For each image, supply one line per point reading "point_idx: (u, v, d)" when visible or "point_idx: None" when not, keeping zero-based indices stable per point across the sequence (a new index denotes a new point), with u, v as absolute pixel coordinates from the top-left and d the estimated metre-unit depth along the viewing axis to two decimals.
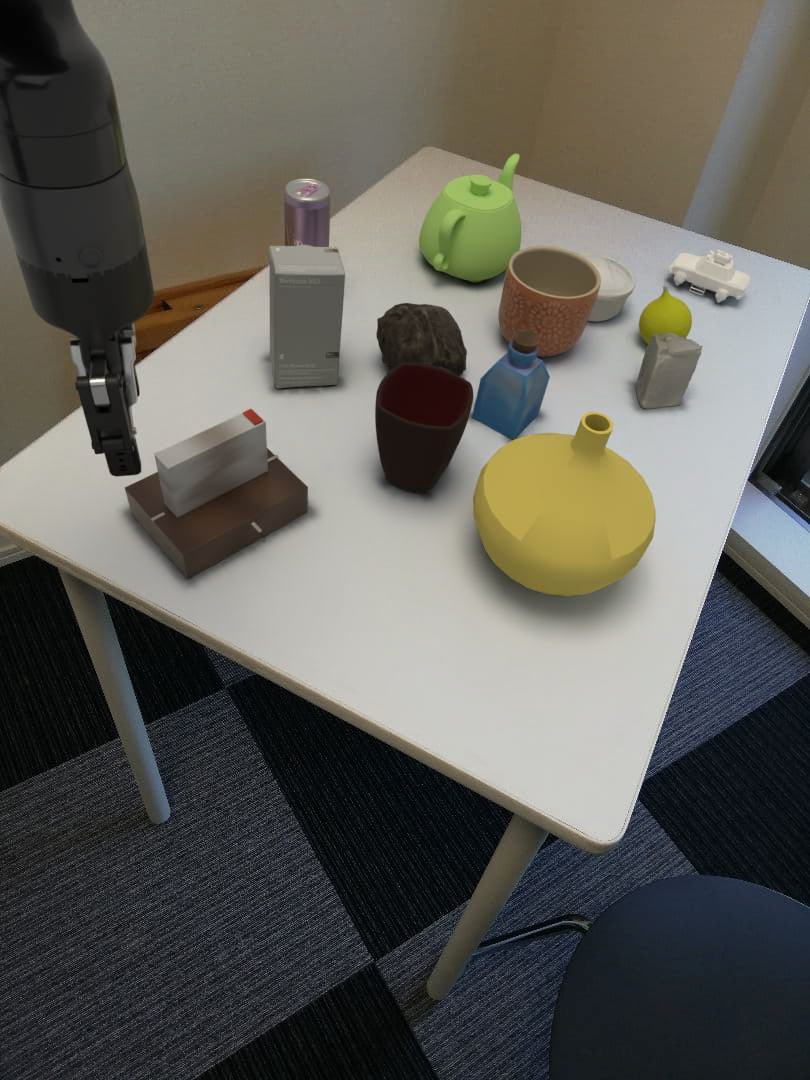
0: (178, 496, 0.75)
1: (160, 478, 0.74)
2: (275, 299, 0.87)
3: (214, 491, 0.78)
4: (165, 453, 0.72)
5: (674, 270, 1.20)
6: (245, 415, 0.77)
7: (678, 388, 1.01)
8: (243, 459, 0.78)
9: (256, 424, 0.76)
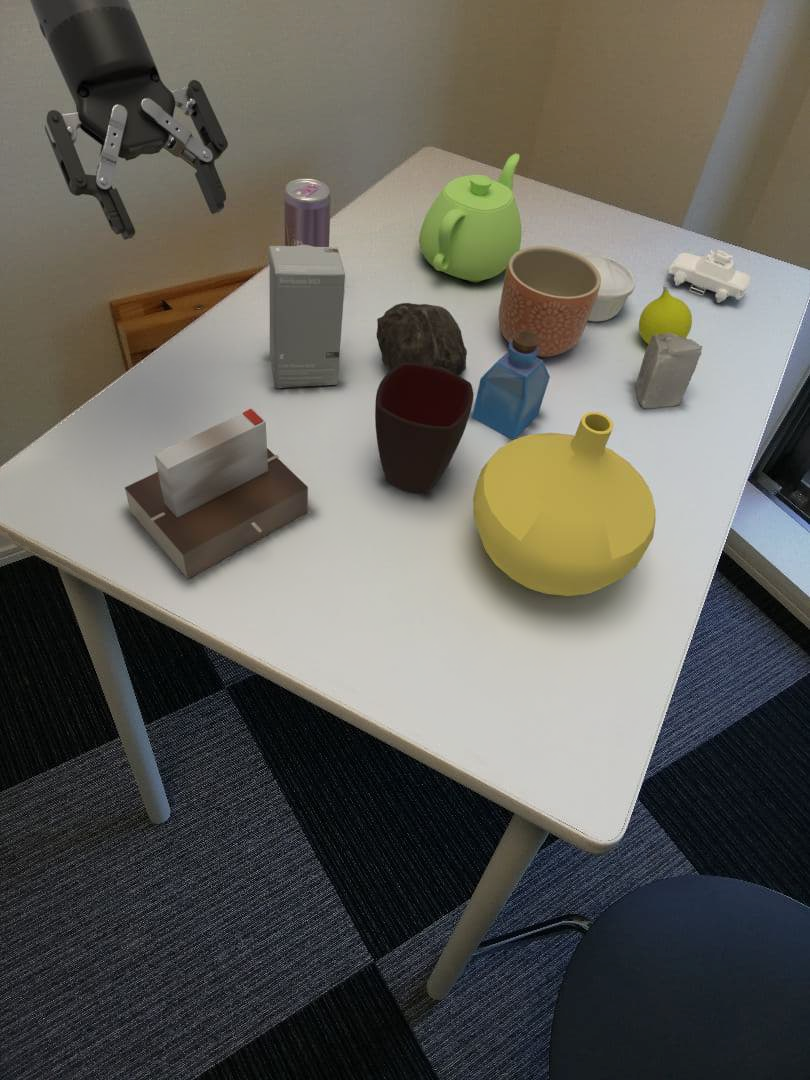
0: (178, 496, 0.75)
1: (160, 478, 0.74)
2: (275, 299, 0.87)
3: (214, 491, 0.78)
4: (165, 453, 0.72)
5: (674, 270, 1.20)
6: (245, 415, 0.77)
7: (678, 388, 1.01)
8: (243, 459, 0.78)
9: (256, 424, 0.76)
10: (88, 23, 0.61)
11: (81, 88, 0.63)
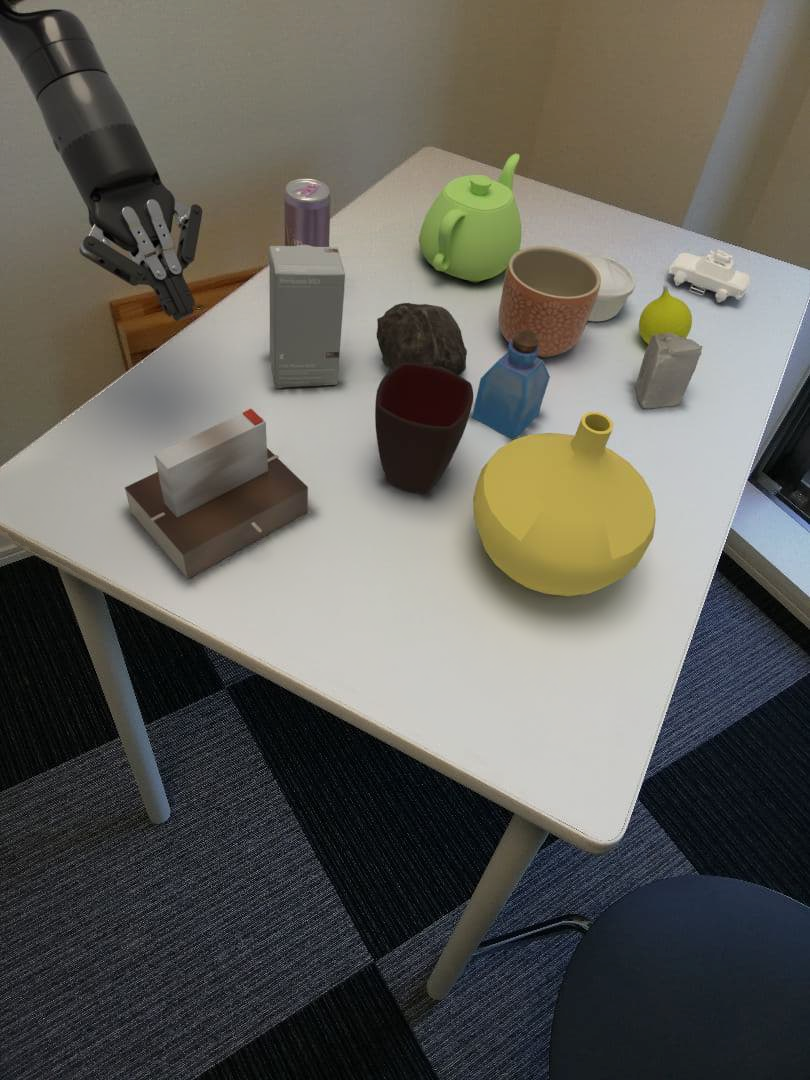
0: (178, 496, 0.75)
1: (160, 478, 0.74)
2: (275, 299, 0.87)
3: (214, 491, 0.78)
4: (165, 453, 0.72)
5: (674, 270, 1.20)
6: (245, 415, 0.77)
7: (678, 388, 1.01)
8: (243, 459, 0.78)
9: (256, 424, 0.76)
10: (100, 139, 0.69)
11: (93, 193, 0.71)
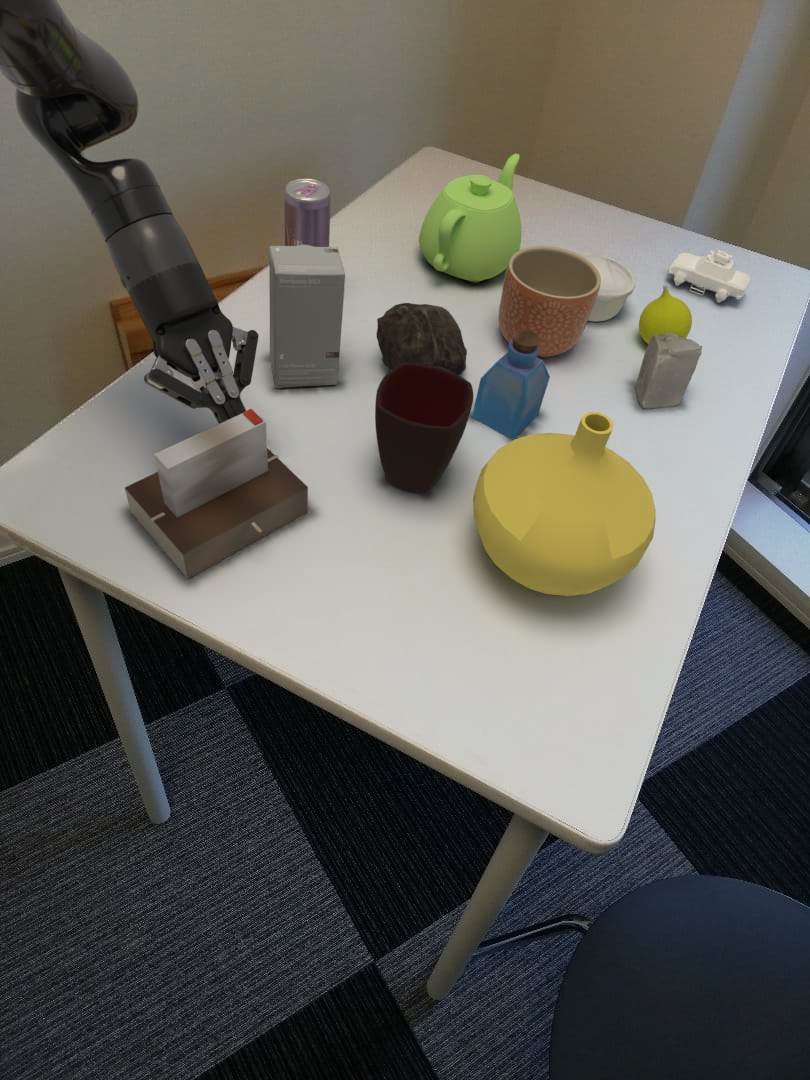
0: (178, 496, 0.75)
1: (160, 478, 0.74)
2: (275, 299, 0.87)
3: (214, 491, 0.78)
4: (165, 453, 0.72)
5: (674, 270, 1.20)
6: (245, 415, 0.77)
7: (678, 388, 1.01)
8: (243, 459, 0.78)
9: (256, 424, 0.76)
10: (167, 280, 0.72)
11: (158, 327, 0.74)
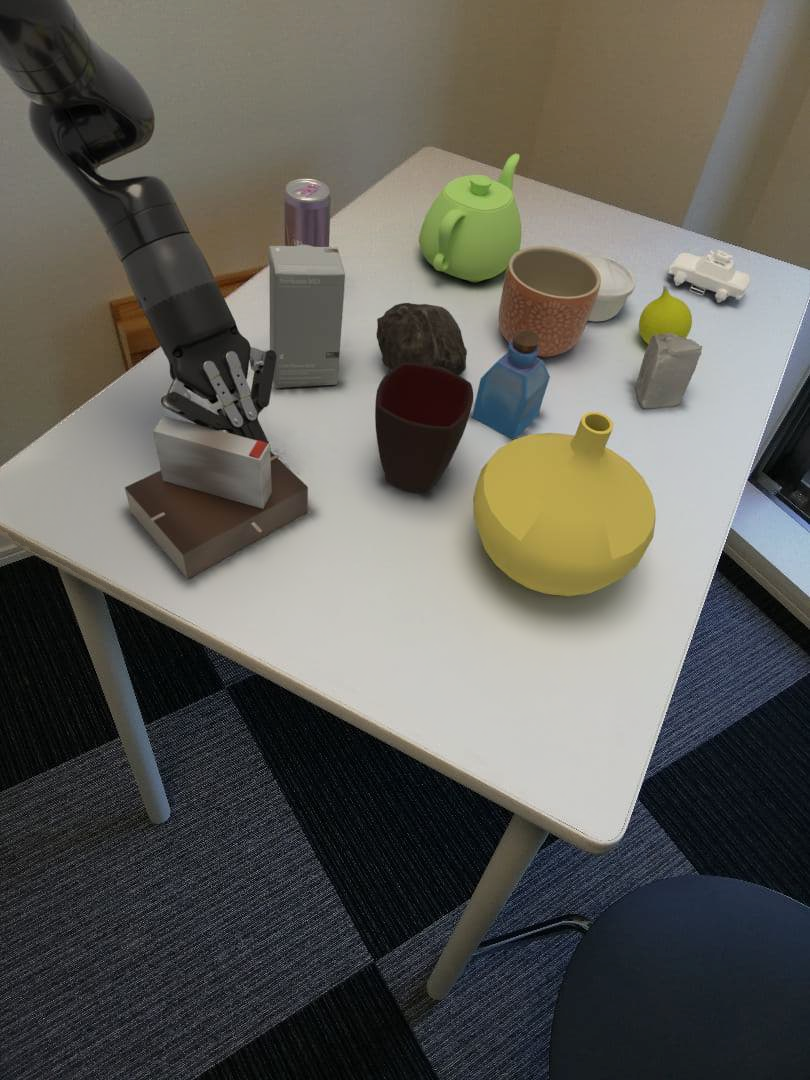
0: (164, 463, 0.77)
1: None
2: (275, 299, 0.87)
3: (202, 485, 0.78)
4: (170, 421, 0.75)
5: (674, 270, 1.20)
6: (256, 444, 0.74)
7: (678, 388, 1.01)
8: (234, 478, 0.76)
9: (250, 456, 0.73)
10: (185, 301, 0.70)
11: (175, 349, 0.73)
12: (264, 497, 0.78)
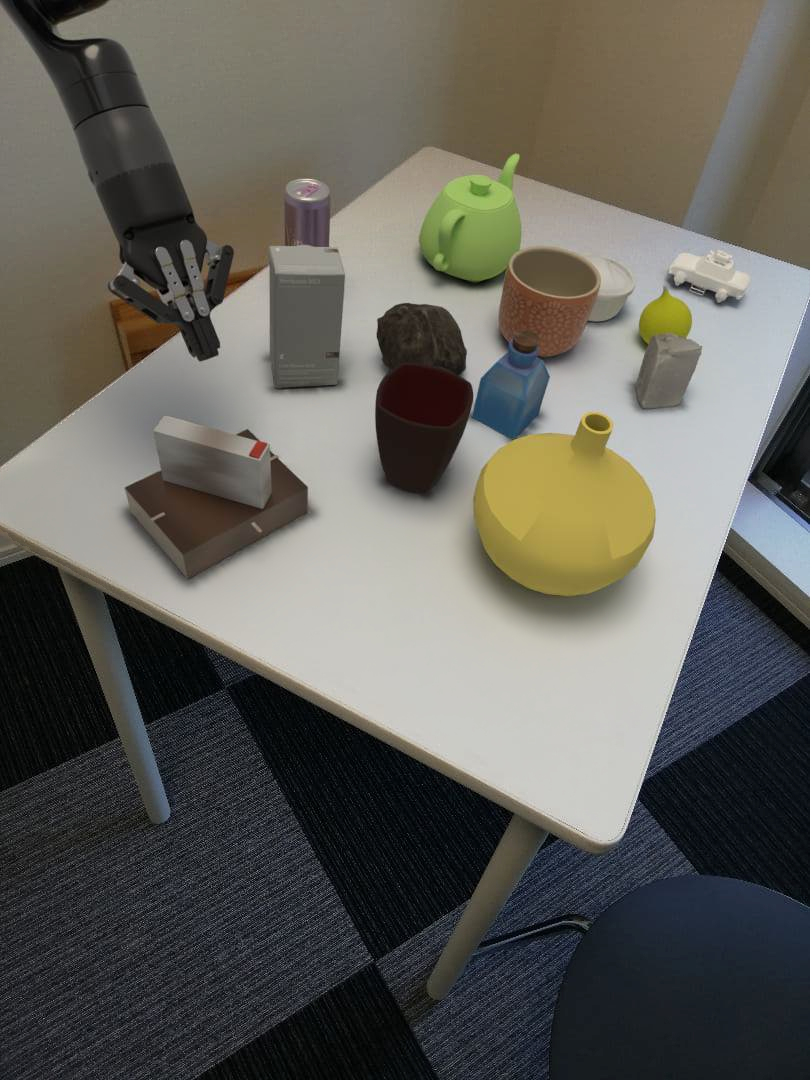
0: (164, 462, 0.77)
1: None
2: (275, 299, 0.87)
3: (202, 485, 0.78)
4: (170, 420, 0.75)
5: (674, 270, 1.20)
6: (256, 444, 0.74)
7: (678, 388, 1.01)
8: (233, 478, 0.76)
9: (250, 456, 0.73)
10: (139, 179, 0.67)
11: (127, 231, 0.69)
12: (264, 497, 0.78)
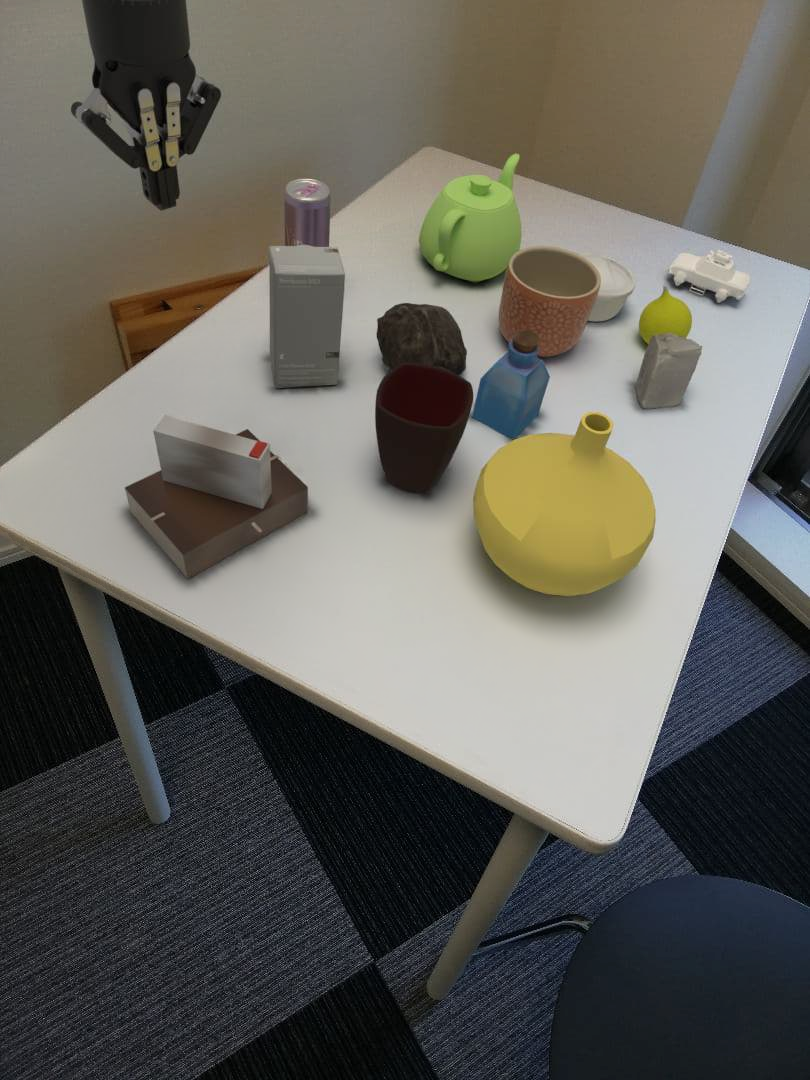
0: (164, 462, 0.77)
1: None
2: (275, 299, 0.87)
3: (202, 485, 0.78)
4: (170, 420, 0.75)
5: (674, 270, 1.20)
6: (256, 444, 0.74)
7: (678, 388, 1.01)
8: (233, 478, 0.76)
9: (250, 456, 0.73)
10: (143, 15, 0.55)
11: None
12: (264, 497, 0.78)
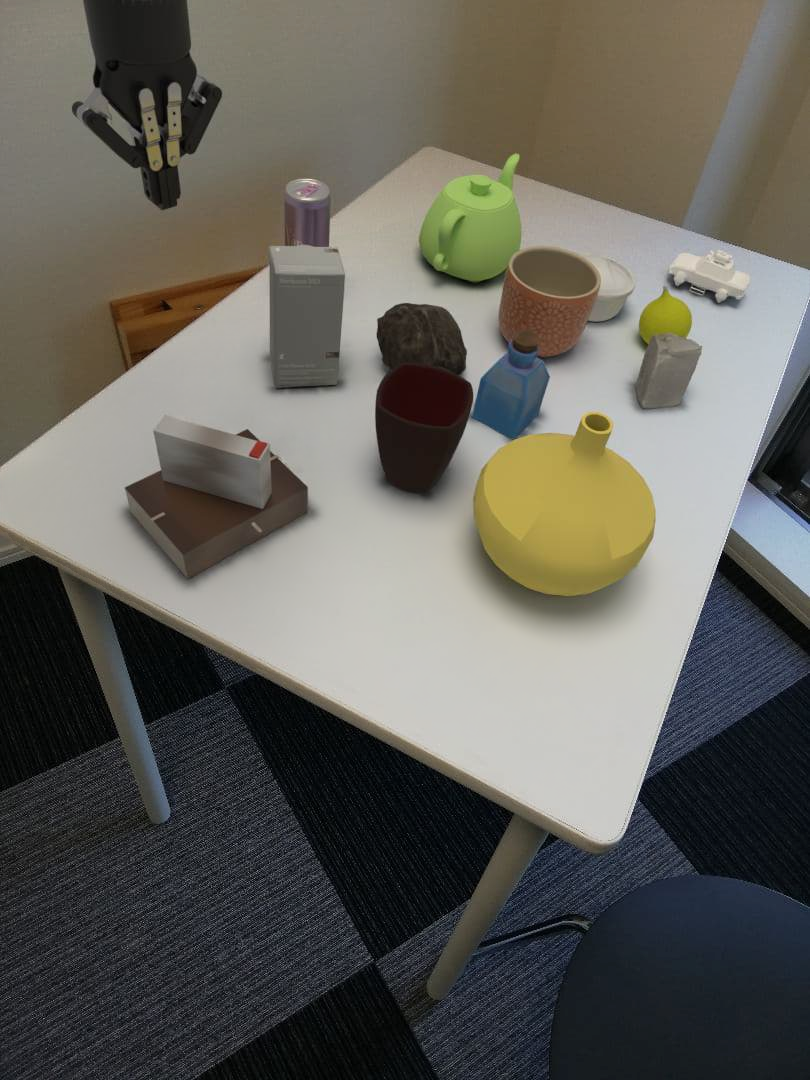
0: (164, 462, 0.77)
1: None
2: (275, 299, 0.87)
3: (202, 485, 0.78)
4: (170, 420, 0.75)
5: (674, 270, 1.20)
6: (256, 444, 0.74)
7: (678, 388, 1.01)
8: (233, 478, 0.76)
9: (250, 456, 0.73)
10: (144, 14, 0.55)
11: None
12: (264, 497, 0.78)
